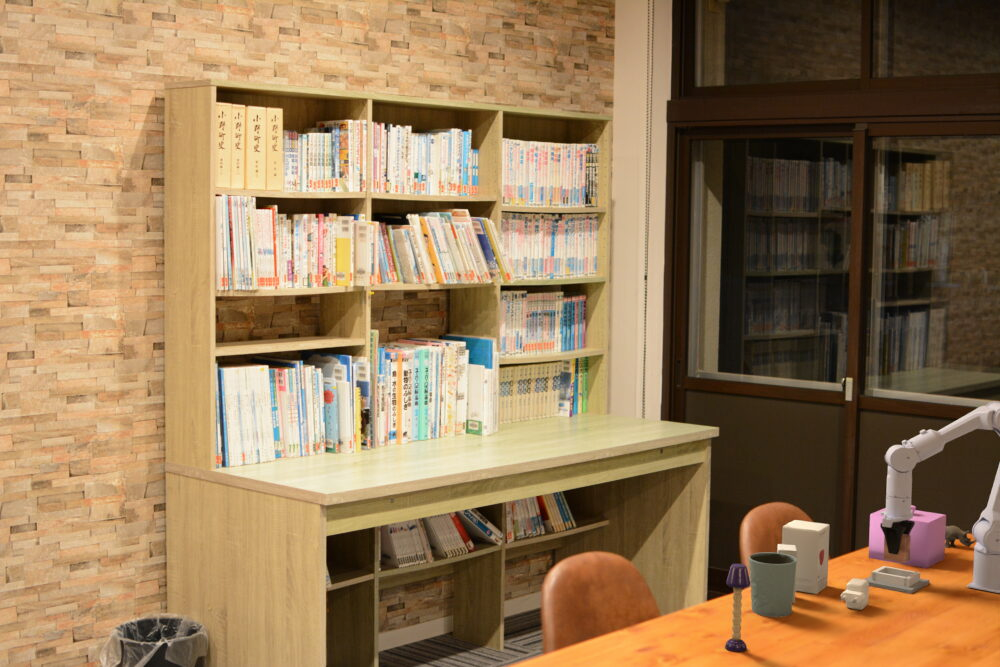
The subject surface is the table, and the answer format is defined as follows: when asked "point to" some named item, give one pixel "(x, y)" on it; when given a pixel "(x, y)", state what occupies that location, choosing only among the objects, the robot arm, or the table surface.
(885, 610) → the table surface
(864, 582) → the power adapter
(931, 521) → the pink knobbed box
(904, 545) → the block
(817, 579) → the supplement box
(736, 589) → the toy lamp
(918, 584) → the grey framed tray
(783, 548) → the skincare box
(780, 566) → the grey-green tapered cup
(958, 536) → the rhino figurine
